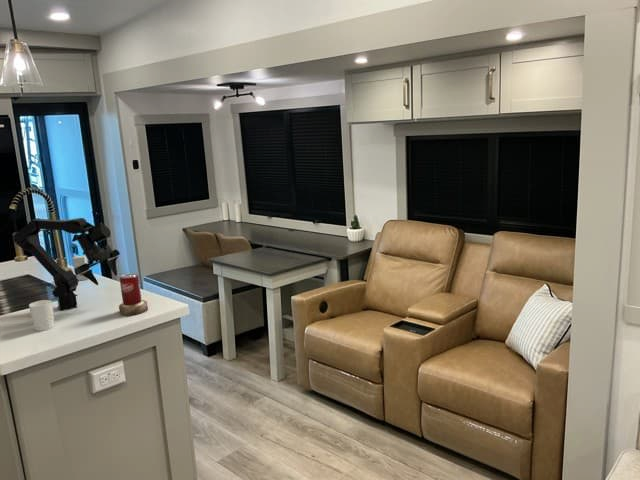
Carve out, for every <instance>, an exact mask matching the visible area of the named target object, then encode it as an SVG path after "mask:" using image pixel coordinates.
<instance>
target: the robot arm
mask: <svg viewBox="0 0 640 480" xmlns="http://www.w3.org/2000/svg"><path fill="white" fill-rule="evenodd" d="M41 230H53V231H62V232H63V231H64V232H65V233H68V234H71V235H73V238H72V240H71V242H73V243H74V242H76V241H77V242H78V245H79V246H80V249H81V250H82V251H83V252H82V256H86V258H87V263H88V264H87V263H85V264H83V265H81V266H79V267H77V268H75V269H74V268H73V270H74V272H73V271H72V270H71V269H68V270H65V269H63V268H62V266H60V265H59V263H58V262H57V261H56V260H55V259H54V258H53V256H51V255H50V254H49V253H48V252H47V250H46V249H44V247H43V246H42V245H41V243H40V239H39V237H38V235H39V233H40V232H41ZM111 235H112V234H111V230H110V228H109V227H107V226H106V225H105V224H104V223H103V222H99V223H97V224H96V225H93V224H91V223H90V222H88V221H87V220H86V219H85V218H84V217H77V218H72V219H71V218H70V219H49V218H48V219H45V218H38V217H37V218H35V219H31V220H30V221H29V222H28V223H27V224H26V225H25V226H24V227H22V228H21V229H20V230H18V231H17V232H15V233H14V234H13V242H14V243H15V244H16V245H17V246H18V247H19V248H20V249H22V250H25V251H28V252H29V253H30V254H31V255H32V256H33V257H34V259H36V261H38V263H39V264H41V266H42V267H43V268H44V269H45V270H46V272H48V273H49V274H50V275H51V276H52V277H53V278H52V279H53V283H54V285H55V288H54V290H52V292H51V293H52V295H53V297H54V298H56V299H57V305H58V306H57V309H58V310H60V312H61V311H67V310H70V309H75V308H78V302H77V301H78V300H77V296H76V294H75V292H76V291H77V287H78V285H79V281H78V279H77V278H76V277H77V276H76V275H78V274H80V273H81V274H80V276H81V275H83V276H85V277H86V278H88V280H89V281H90V282H92V283H93V284H95V286H99V281H98V280H97V278H96V276H95V274H94V273H93V269H92V267H95V266H96V265H99V264H100V263H103V262H104V261H106V263H107V265H108V267H109V268H110V270H111V272H112V273H113V275H114V276H118V269H117V260H118V258H119V256H120V255H121V253H120V251H119V250H118V249H116V248H115V249H114V250H113V249H112V247H111V245H109V244H107V245H104V246H103V248H101V247H100V245H99V244H98V245H97V244H96V243H100V242H102V241H105V240H106V239H109V238H110V237H111ZM90 268H91V269H90ZM75 274H76V275H75Z"/></svg>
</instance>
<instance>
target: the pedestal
mask: <svg viewBox="0 0 640 480" xmlns="http://www.w3.org/2000/svg"><path fill="white" fill-rule="evenodd" d="M141 300H142V302H141V303H140V304H138V305H135V306H125V305H123V302H122V303H120V304H119V305H118V310H119V315H121V316H122V317H132V316H137V315H142V314H144V313H146V312H147V311H148V310H149V306H148V301H146V300H144V299H141Z"/></svg>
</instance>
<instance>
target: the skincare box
mask: <svg viewBox="0 0 640 480" xmlns="http://www.w3.org/2000/svg"><path fill="white" fill-rule="evenodd" d="M71 261H72V265H73V270H74V269H75V268H77V267H79V266H81V265H83V264H85V263H87V264H88V262H87V261H88V259H87V257H86V255H79V256H78V255H77V256H73V257H72V258H71ZM74 274H75V273H74ZM80 274H81V273H80ZM80 274H78V275H76V274H75V275H76V276H77V277H76V278H77V279H78V282H79V281H86V280H87V281H88V280H89V279H88V278H86V277H85V276H83V275H81V276H80Z"/></svg>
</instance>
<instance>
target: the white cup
mask: <svg viewBox="0 0 640 480" xmlns="http://www.w3.org/2000/svg"><path fill="white" fill-rule="evenodd" d="M28 307H29V311H30V317H31V321H32V324H33V326H34V327H33V328H34V330H35V331H36V332H43V331H48V330H50V329H53V328H54V327H55V321H54V320H55V318H54V314H55V313H54V307H53V301H52V300H51V299H50V300H49V299H42V300H37V301H34V302H31V303H29V304H28Z"/></svg>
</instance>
